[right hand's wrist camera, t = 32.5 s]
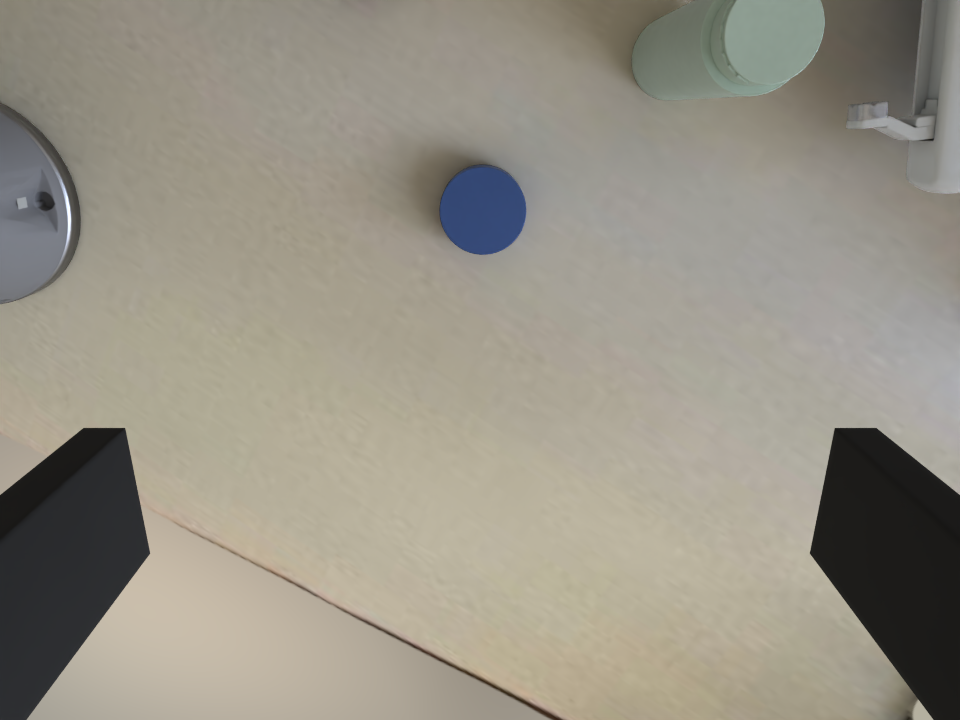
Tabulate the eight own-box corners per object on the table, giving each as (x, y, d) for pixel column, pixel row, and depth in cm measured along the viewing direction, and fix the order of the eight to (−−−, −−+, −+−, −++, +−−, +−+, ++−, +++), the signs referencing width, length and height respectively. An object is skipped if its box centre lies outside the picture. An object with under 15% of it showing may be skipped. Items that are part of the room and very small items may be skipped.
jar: (660, -2, 46) (763, -64, 30) (725, 41, 47) (861, 4, 30) (616, 74, 48) (690, 56, 31) (680, 115, 49) (785, 117, 32)
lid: (479, 265, 53) (479, 271, 50) (424, 204, 51) (421, 208, 49) (541, 210, 51) (543, 215, 49) (486, 146, 50) (486, 147, 47)
